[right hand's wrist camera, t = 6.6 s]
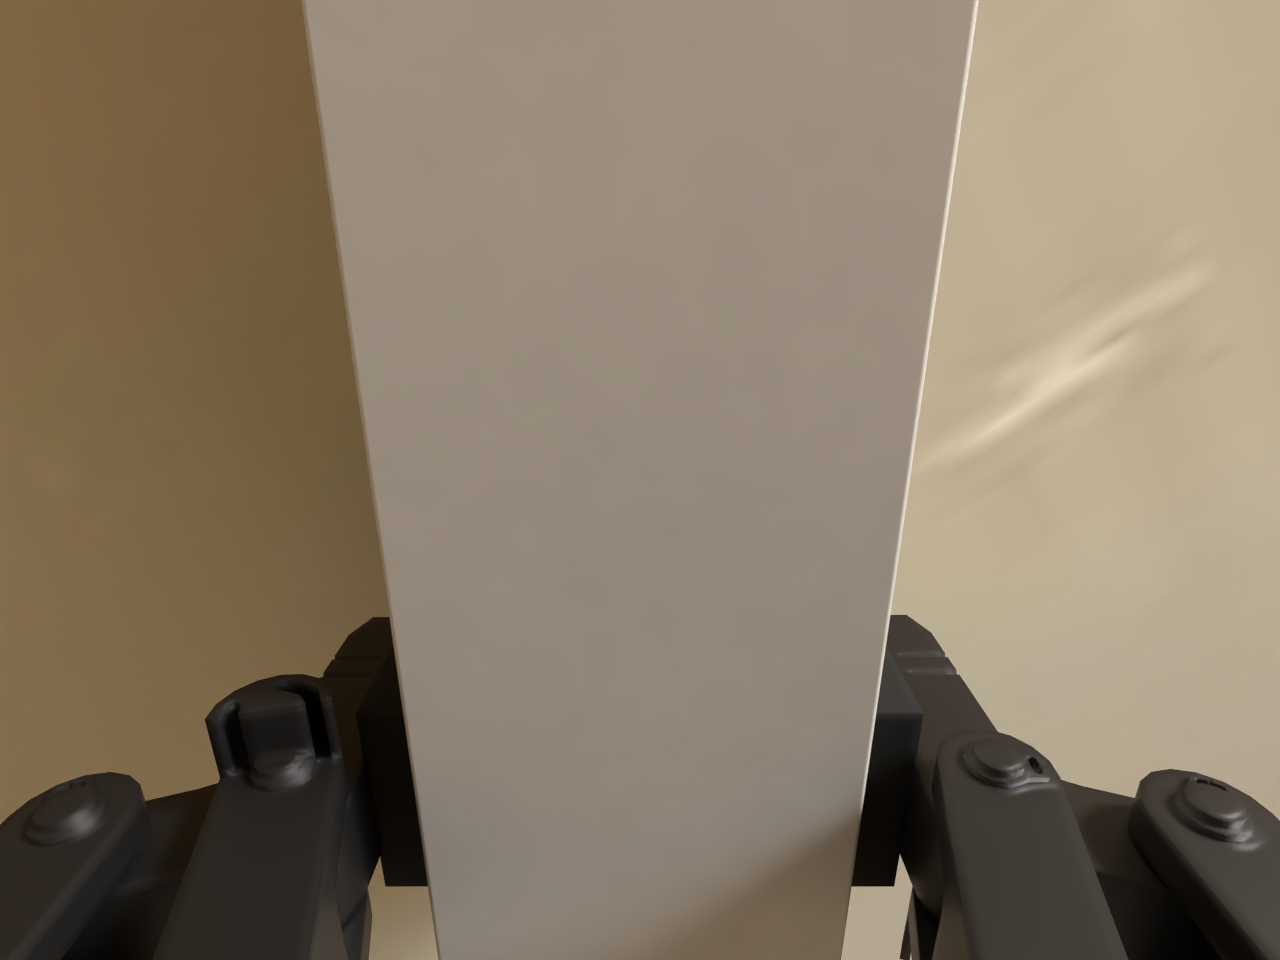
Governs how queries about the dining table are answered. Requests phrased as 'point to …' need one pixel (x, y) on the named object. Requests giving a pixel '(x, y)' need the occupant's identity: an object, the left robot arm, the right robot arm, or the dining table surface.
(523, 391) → the beam
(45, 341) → the dining table surface
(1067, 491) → the dining table surface
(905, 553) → the dining table surface
